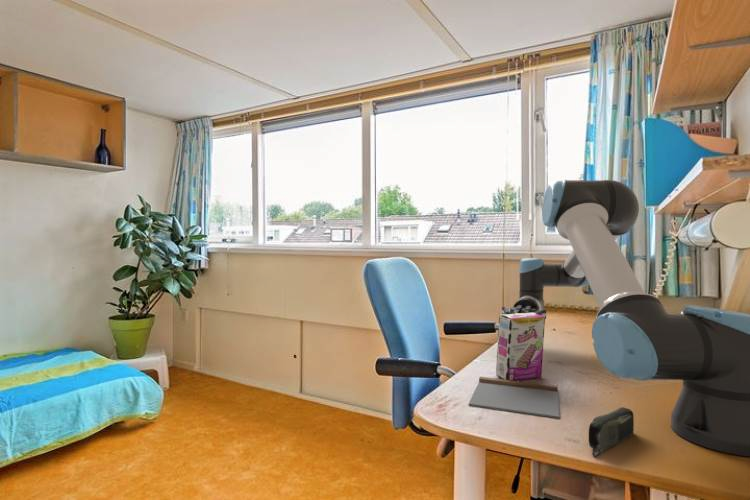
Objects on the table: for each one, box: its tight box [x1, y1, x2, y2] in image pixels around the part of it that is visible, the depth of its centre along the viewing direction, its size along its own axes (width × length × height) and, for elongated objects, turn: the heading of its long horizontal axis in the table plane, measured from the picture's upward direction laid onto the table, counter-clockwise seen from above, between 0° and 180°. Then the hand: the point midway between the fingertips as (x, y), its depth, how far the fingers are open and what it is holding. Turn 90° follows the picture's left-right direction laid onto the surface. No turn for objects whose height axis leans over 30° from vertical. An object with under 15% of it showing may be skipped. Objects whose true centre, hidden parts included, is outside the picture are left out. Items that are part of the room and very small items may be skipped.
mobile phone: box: [588, 407, 635, 457], centre depth 75 cm, size 5×3×15 cm
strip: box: [478, 376, 559, 393], centre depth 103 cm, size 2×18×1 cm, turn 68°
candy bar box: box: [495, 313, 546, 381], centre depth 109 cm, size 11×5×16 cm, turn 111°
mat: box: [468, 381, 560, 420], centre depth 95 cm, size 15×18×1 cm
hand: (514, 322), depth 112 cm, fingers closed
